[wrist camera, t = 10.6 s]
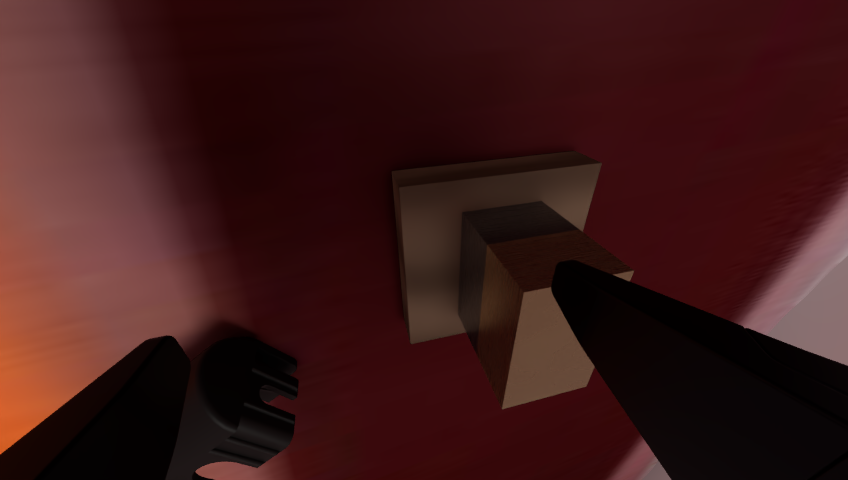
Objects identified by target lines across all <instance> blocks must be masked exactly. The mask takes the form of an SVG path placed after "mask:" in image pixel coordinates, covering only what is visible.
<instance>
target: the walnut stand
mask: <svg viewBox="0 0 848 480" xmlns="http://www.w3.org/2000/svg"><path fill="white" fill-rule="evenodd" d="M601 164H602V163H601V162H598V161H596V160H594V159H592V158H589V157H587V156H585V155H583V154H580V153H578V152H576V151H569V152H560V153H551V154H542V155H533V156H524V157H515V158H506V159H497V160H487V161H478V162H469V163H460V164H451V165H442V166H433V167H424V168H415V169H406V170H397V171H392V182H393V194H394V206H395V217H396V229H397V241H398V253H399V265H400V277H401V288H402V300H403V312H404V321H405V324H406V328H407V332H408V336H409V340H410V344H414V343H418V342H423V341H427V340H432V339H437V338H441V337H446V336H451V335H455V334H460V333H464V332H466V331H465V328H464V326H463V324H462V322H461V320H460V318H459V315H458V297H459V274H460V250H461V227H462V212H466V211H473V210H480V209H488V208H495V207H502V206H509V205H516V204H523V203H530V202H537V201H543V202H544V203H545V204H546V205H548V206H549V207H550V208H552V209H553V210H554V211H556V212H557V213H558V214H560V215H561V216H562V217H564V218H565V219H566V220H568V221H569V222H570V223H572V224H573V225H574V226H576V227H577V228H578V229H580V230H581V231H582V232H583V228H584V224H585V221H586V217H587V214H588V210H589V207H590V203H591V199H592V196H593V192H594V189H595V185H596V182H597V178H598V174H599V171H600V167H601Z"/></svg>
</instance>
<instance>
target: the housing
mask: <svg viewBox="0 0 848 480" xmlns="http://www.w3.org/2000/svg"><path fill="white" fill-rule="evenodd" d="M566 260H577V261H579V262H582V263H584V264H587V265H589V266H592V267H594V268H597V269H599V270H602V271H604V272H607V273H609V274H612V275H614V276H617V277H620V278H622V279H625V280H627V281H630V279H631V277H632V274H633V272H634V270H633V269H631V268H630V267H629V266H627V265H626V264H625V263H623V262H622V261H621V260H619V259H618V258H617V257H615V256H614V255H613V254H611V253H610V252H609V251H607V250H606V249H605V248H603V247H602V246H601V245H599V244H598V243H597V242H595V241H594V240H593V239H592V238H590V237H589V236H588V235H586V234H585V233H584V232H582V231H581V230H580V229H578V228H577V227H576V226H574V225H573V224H572V223H570V222H569V221H568V220H566V219H565V218H564V217H562V216H561V215H560V214H558V213H557V212H556V211H554V210H553V209H552V208H550V207H549V206H548V205H546V204H545V203H544V202H543V201H537V202H530V203H523V204H516V205H509V206H502V207H495V208H488V209H480V210H473V211H466V212H462V227H461V250H460V274H459V297H458V315H459V318H460V320H461V322H462V324H463V326H464V328H465V331H466V333H467V335H468V337H469V339H470V341H471V343H472V346H473V348H474V350H475V352H476V354H477V356H478V359H479V361H480V363H481V365H482V367H483V369H484V371H485V374H486V376H487V378H488V380H489V382H490V384H491V387H492V389H493V391H494V393H495V395H496V397H497V399H498V402H499V404H500V406H501V408H502V409H505V408H508V407H512V406H516V405H519V404H523V403H527V402H530V401H534V400H538V399H541V398H545V397H549V396H552V395H556V394H560V393H563V392H567V391H571V390H575V389H578V388H582V387H586V386H587V383H588V381H589V378H590V376H591V374H592V371H593V369H594V365H593V363H592V362H591V360H590V359H589V357H588V356H587V355H586V353H585V352H584V350H583V348H582V347H581V345H580V344H579V342H578V340H577V339H576V337H575V335H574V333H573V331H572V330H571V328H570V326H569V324H568V322H567V320H566V319H565V317H564V315H563V313H562V311H561V309H560V307H559V306H558V304H557V302H556V300H555V298H554V296H553V294H552V291H551V283H552V279H553V275H554V271H555V267H556V265H557V263H558V262H561V261H566Z"/></svg>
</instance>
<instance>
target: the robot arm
mask: <svg viewBox="0 0 848 480" xmlns="http://www.w3.org/2000/svg"><path fill="white" fill-rule="evenodd" d="M551 291H552V294H553V296H554V298H555V300H556V302H557V304H558V306H559V307H560V309H561V311H562V313H563V315H564V317H565V319H566V320H567V322H568V324H569V326H570V328H571V330H572V331H573V333H574V335H575V337H576V339H577V340H578V342H579V344H580V345H581V347H582V348H583V350H584V352H585V353H586V355H587V356H588V357H589V359H590V360H591V362H592V363H593V365H594V366H595V368H596V369H597V371H598V372H599V374H600V375H601V377H602V378H603V380H604V381H605V383H606V384H607V385H608V387H609V388H610V390H611V391H612V393H613V394H614V396H615V397H616V399H617V400H618V402H619V403H620V405H621V406H622V408H623V409H624V410H625V412H626V413H627V415H628V416H629V418H630V419H631V421H632V422H633V424H634V425H635V427H636V428H637V430H638V431H639V433H640V434H641V436H642V437H643V438H644V440H645V441H646V443H647V444H648V446H649V447H650V449H651V450H652V452H653V453H654V455H655V456H656V458H657V459H658V461H659V462H660V463H661V465H662V466H663V468H664V469H665V471H666V472H667V474H668V475H669V477H670V478H671V480H848V366H847V365H844V364H841V363H839V362H836V361H833V360H830V359H827V358H825V357H822V356H819V355H816V354H814V353H811V352H808V351H805V350H803V349H800V348H797V347H795V346H792V345H790V344H787V343H784V342H782V341H779V340H777V339H774V338H771V337H769V336H766V335H764V334H761V333H759V332H756V331H754V330H751V329H749V328H744V327H743V326H741V325H738V324H736V323H733V322H731V321H728V320H726V319H723V318H721V317H718V316H716V315H713V314H711V313H708V312H706V311H703V310H700V309H698V308H695V307H693V306H690V305H688V304H685V303H683V302H680V301H678V300H675V299H673V298H670V297H668V296H665V295H663V294H660V293H657V292H655V291H652V290H650V289H647V288H645V287H642V286H640V285H637V284H635V283H632V282H630V281H627V280H625V279H622V278H620V277H617V276H614V275H612V274H609V273H607V272H604V271H602V270H599V269H597V268H594V267H592V266H589V265H587V264H584V263H582V262H579V261H577V260H566V261H561V262H558V263H557V265H556V267H555V271H554V275H553V279H552V283H551ZM190 370H191V365H190V361H189V358H188V357H187V355H186V354H185V352H184V351H183V349H182V348H181V346H180V345H179V344H178V342H177V341H176V339H175V338H174V337H172V336H161V337H156V338H151V339H148V340H146V341H144V342H143V343H141V344H140V345H139V346H138V347H136V348H135V349H134V350H133V351H131V352H130V353H129V354H128V355H126V356H125V357H124V358H122V359H121V360H120V361H119V362H117V363H116V364H115V365H114V366H112V367H111V368H110V369H108V370H107V371H106V372H105V373H103V374H102V375H101V376H100V377H98V378H97V379H96V380H94V381H93V382H92V383H91V384H89V385H88V386H87V387H86V388H84V389H83V390H82V391H80V392H79V393H78V394H77V395H75V396H74V397H73V398H72V399H70V400H69V401H68V402H67V403H65V404H64V405H63V406H61V407H60V408H59V409H58V410H56V411H55V412H54V413H53V414H51V415H50V416H49V417H47V418H46V419H45V420H44V421H42V422H41V423H40V424H39V425H37V426H36V427H35V428H33V429H32V430H31V431H30V432H28V433H27V434H26V435H25V436H23V437H22V438H21V439H19V440H18V441H17V442H16V443H14V444H13V445H12V446H11V447H9V448H8V449H7V450H5V451H4V452H3V453H2V454H0V480H165V479H166V476H167V472H168V469H169V466H170V463H171V460H172V456H173V453H174V449H175V446H176V442H177V437H178V433H179V428H180V423H181V418H182V412H183V407H184V402H185V397H186V392H187V387H188V381H189V376H190Z"/></svg>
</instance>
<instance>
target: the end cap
mask: <svg viewBox="0 0 848 480" xmlns="http://www.w3.org/2000/svg"><path fill="white" fill-rule="evenodd" d="M190 365H191V370H190V376H189V381H188V387H187V392H186V397H185V402H184V407H183V412H182V418H181V423H180V428H179V433H178V437H177V442H176V446H175V449H174V453H173V456H172V460H171V463H170V466H169V469H168V472H167V476H166V479H165V480H213V479H209V478H205V477H201V476H199V475H198V474H197V473H196V472H195V471H196V470H197V469H198V468H200V467H202V466H204V465H207V464H210V463H215V462H224V461H228V462H236V463H240V464H244V465H248V466H252V467H256V468H258V467H259V466H261V465H262V464H264V463H265V462H266V461H268V460H269V459H271V458H272V457H274V456H275V455H277V454H278V453H279V452H281V451H282V450H284V449H285V448H286V447H287V446H288V445H289V444H290V442H291V440H292V438H293V434H294V425H295V415H293V414H291V413H288V412H286V411H283V410H281V409H278V408H276V407H273V406H271V405H268V404H266V403H264V402H263V401H262V400H264V401H266V402H270V401H271V400H273V399H274V398H275V397H277V396H278V395H282V396H284V397H286V398H289V399H291V400H294V399H295V398H297V394H298V383H299V382H298V379H296V378H294V377H292V376H290V375H291V374H292V373H294V372H295V371H296V369H297V361H296V360H295V359H294V358H292V357H290V356H288V355H286V354H284V353H283V352H281V351H279V350H277V349H275V348H273V347H271V346H269V345H267V344H265V343H263V342H261V341H259V340H257V339H254V338H251V337H240V338H235V337H233V338H227V339H223V340H221V341H218V342H216V343H214V344H213V345H211V346H210V347H209V348H207V349H206V350H205V351H204V352H202V353H201V354H200V355H198V356H197V357H196V358H195V359H193V360H192V361H191V362H190Z"/></svg>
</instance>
